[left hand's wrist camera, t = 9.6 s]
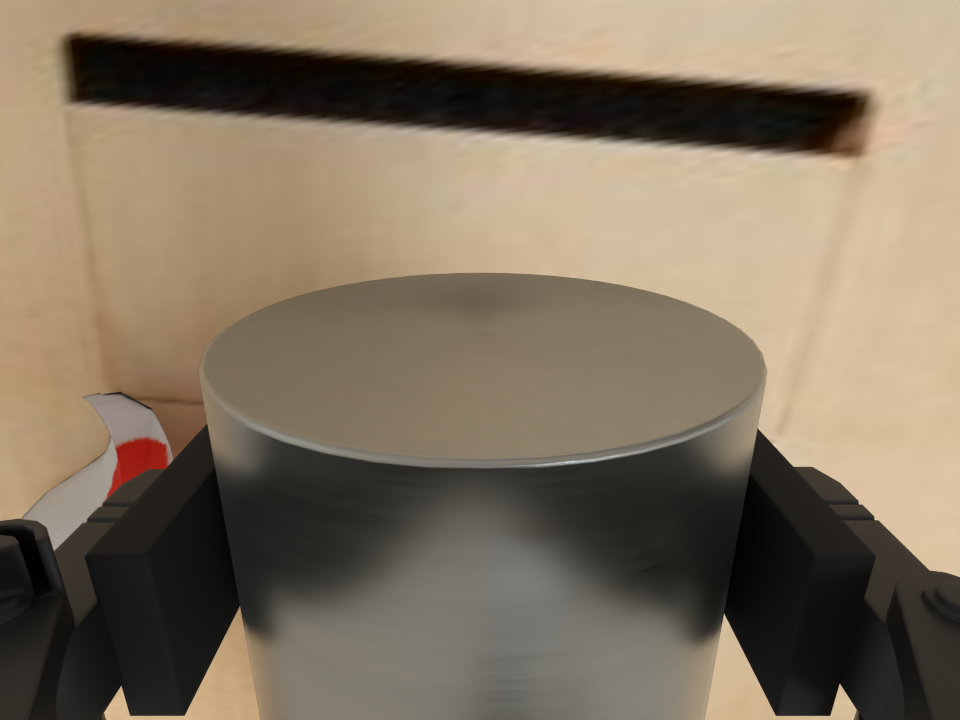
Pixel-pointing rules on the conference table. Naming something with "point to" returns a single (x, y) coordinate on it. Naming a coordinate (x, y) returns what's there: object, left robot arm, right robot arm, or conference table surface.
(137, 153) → the conference table surface
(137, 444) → the fish
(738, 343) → the rod
